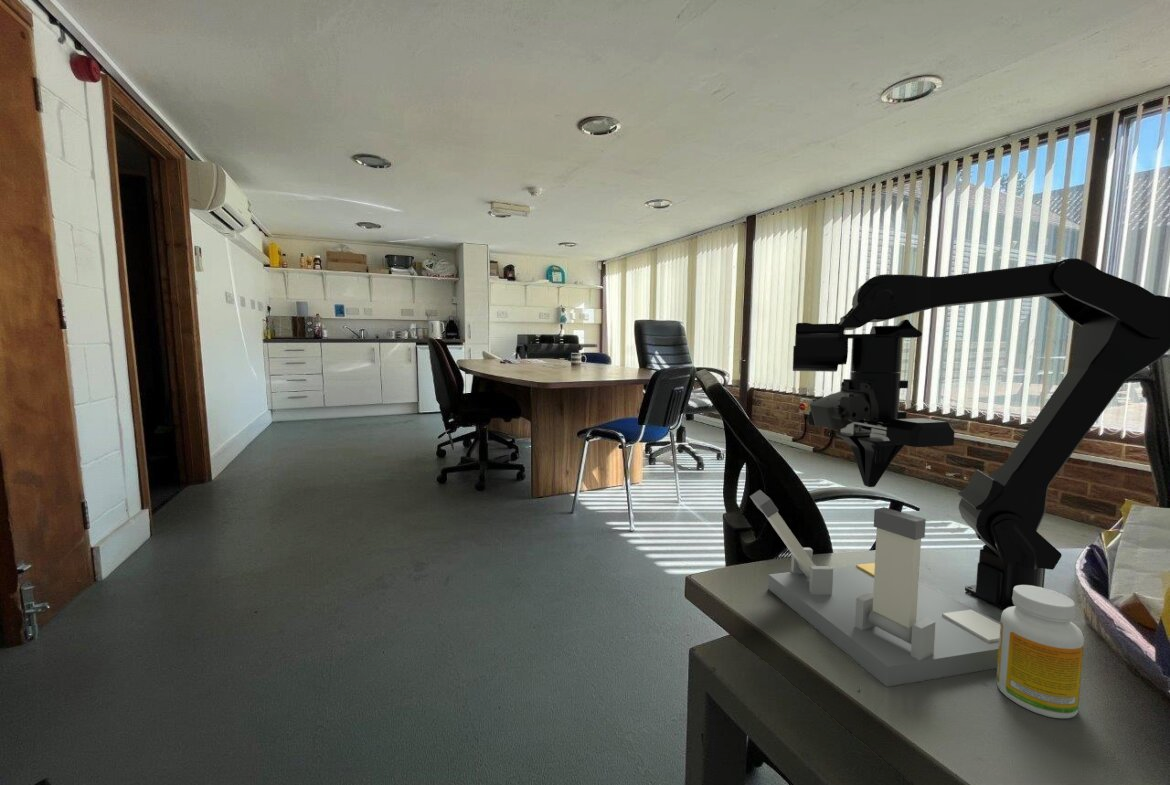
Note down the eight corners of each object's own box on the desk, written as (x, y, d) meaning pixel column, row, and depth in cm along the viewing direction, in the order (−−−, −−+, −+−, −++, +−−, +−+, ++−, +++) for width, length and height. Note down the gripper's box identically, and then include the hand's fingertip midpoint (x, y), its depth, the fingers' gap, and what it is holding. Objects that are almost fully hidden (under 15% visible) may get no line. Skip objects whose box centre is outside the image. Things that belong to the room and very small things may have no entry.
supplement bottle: (1096, 725, 40) (1106, 614, 39) (1021, 715, 41) (1030, 607, 40) (1047, 682, 45) (1056, 583, 44) (982, 674, 46) (989, 578, 45)
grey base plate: (881, 574, 67) (882, 538, 67) (1036, 661, 48) (1040, 611, 48) (766, 587, 63) (767, 549, 63) (886, 686, 44) (889, 633, 44)
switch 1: (813, 565, 63) (760, 489, 62) (828, 579, 59) (771, 498, 58) (802, 572, 63) (748, 496, 62) (815, 587, 59) (758, 506, 58)
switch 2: (878, 621, 51) (884, 507, 50) (918, 641, 47) (926, 519, 46) (868, 625, 50) (873, 509, 49) (908, 646, 46) (915, 521, 45)
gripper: (779, 370, 71) (776, 472, 72) (880, 376, 53) (873, 512, 54) (843, 370, 73) (839, 469, 75) (962, 375, 55) (953, 506, 57)
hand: (869, 486), depth 65 cm, fingers closed
